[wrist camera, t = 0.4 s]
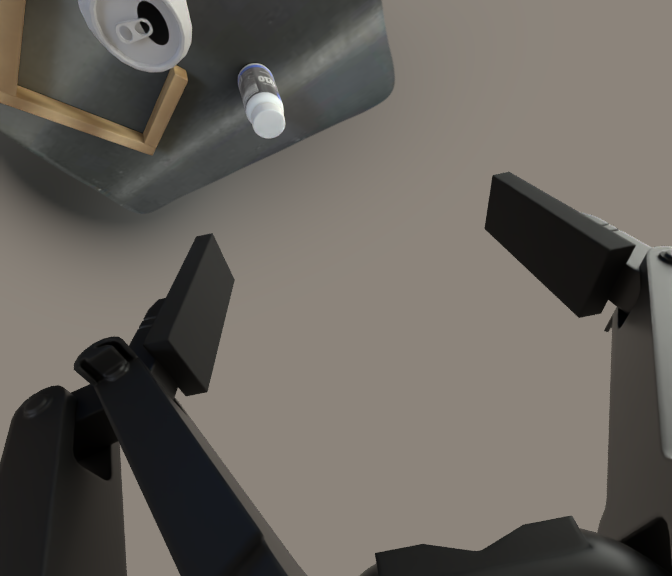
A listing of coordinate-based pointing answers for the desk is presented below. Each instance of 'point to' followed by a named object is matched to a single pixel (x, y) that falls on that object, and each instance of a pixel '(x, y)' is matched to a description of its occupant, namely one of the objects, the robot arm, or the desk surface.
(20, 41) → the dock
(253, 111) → the pill bottle
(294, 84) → the desk surface
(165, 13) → the can
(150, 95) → the desk surface
